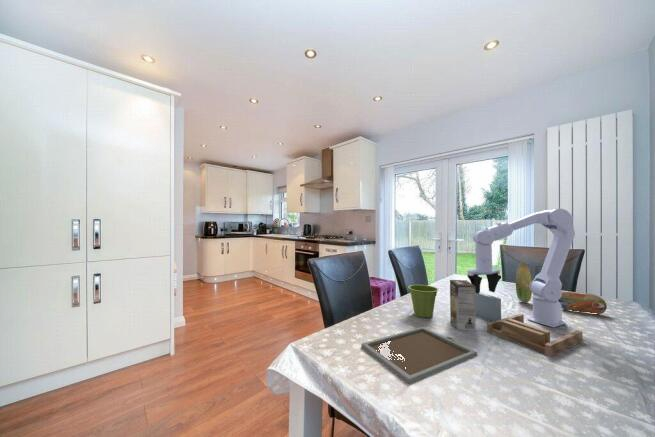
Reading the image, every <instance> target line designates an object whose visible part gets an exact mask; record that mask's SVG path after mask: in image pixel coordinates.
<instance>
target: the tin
mask: <svg viewBox="0 0 655 437" xmlns="http://www.w3.org/2000/svg"><path fill="white" fill-rule="evenodd" d="M558 301H559V302H560V304H561V306H562V309H563V310H564V311H566V310H572V311H579V312H590V313H597V314H599V315H601V314H603V313H605V312H606V311H607V309H608V308H607V307H608V305H607V302H606V301H605V300H604V299H603V298H602V297H600V296H598V295H596V294H593V293H592V294H591V293H585V292H584V293H582V292H573V291H572V292H571V291H562V296H561V298H560V299H559V300H558Z"/></svg>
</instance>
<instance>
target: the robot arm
mask: <svg viewBox="0 0 655 437" xmlns="http://www.w3.org/2000/svg"><path fill="white" fill-rule="evenodd" d="M574 219H575V218H574V215H572V213H570V212H569V211H568V210H566V209H564V208H555V209H544V210H542V211H538V212H534V213H530V214H528V215H526V216H523V217H521V218H519V219H515V220H514V221H511V222H509V223H507V222H505V221H504V222H500V221H499V222H497V223H496V224H495V225H493V226H490V227H485V228H484V230H478V231H476V232H475V233H474V235H473V237H472V238H473V241H474V242H475V268H474V269H469V270H467V273H466V274H467V278H468V279H469V280H468V281H469V282H470V283H471V284H473V285H474V286H476V287H475V290H476V293H480V292H481V283H482V280H483V277H481V276H486V279H487V286H488V291H489V292H492V293H495V292H496V289H497V285H498V283H499V282H500V280H501V279H502V275H501V269H500V268H499V269H498V268H493V248H492V244H493V243H494V242H496V241H499V240H502V239H504V238H506V237H510V236H512V235H513V233H514V232H515V231H517V230H519V229H522V228H526V227H528V226H531V225H534V224H536V225H537V224H538V225H539V224H540V225H541V226H544V228H547V229H548V230H549V231H550V232H551V233H552V234H553V237H552V239H551V243H550V245H549V248H548V251H547V254H546V256H545V259H544V262H543V265H542V268H541V271H540V272H539V273H538V274H536V275H535V277H534V279H533V280H532V282H531V283H530V285H529V288H530V290H531V292H532V317H529V318H528V321H531V322H534V323H536V324H540V325H544V326H548V327H551V328H556V327H558V326H561V325H564V324H566V321H563V310H562V309H563V308H562V306H561V304H560V302H559V301H558V300H559V299H560V298H561V296H562V292H563V291H562V286H563V283H562V281H561V279H560V277H561V274H562V271H563V268H564V265H565V263H566V259H567V257H568V255H569V251H570V248H571V247H572V246H571V245H572V244H573V241H574V238H575V234H576V233H575V229H574V224H573V220H574Z"/></svg>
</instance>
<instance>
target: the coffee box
mask: <svg viewBox="0 0 655 437" xmlns="http://www.w3.org/2000/svg"><path fill="white" fill-rule="evenodd" d="M475 287H476V286H474V285H473V284H471V282H470V281H469V280H467V279H466V280H465V279H449V297H450V298H449V307H450V310H449V311H450V314H449V315H450V321H451V322H452V324H453V325H454V326H455V328H456V329H457V330H462V331H471V332H476V331H477V323H476V320H477V319H476V318H477V317H476V315H477V314H476V290H475Z"/></svg>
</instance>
